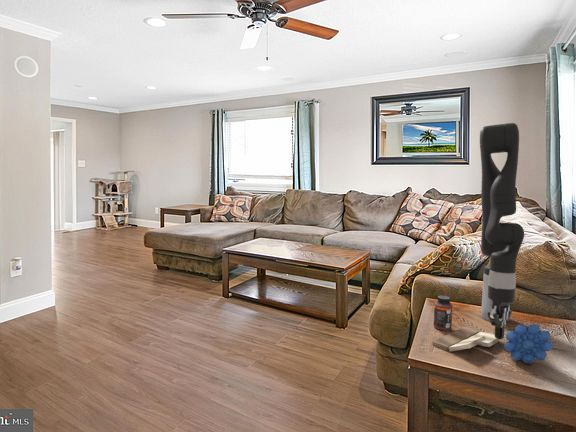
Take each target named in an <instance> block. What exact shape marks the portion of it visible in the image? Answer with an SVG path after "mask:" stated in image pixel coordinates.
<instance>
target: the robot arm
mask: <svg viewBox="0 0 576 432" xmlns="http://www.w3.org/2000/svg"><path fill="white" fill-rule="evenodd" d="M479 150H480V161H481V191H480V192H481V193H480V194H481V195H480V196H481V212H482V213H481V214H482V218H481V219H482V223H481V224H482V225H481V241H480V247H481V253H482V255H484V256H486V257H490V258H489V259H490V260H489V264H487V265H484V268H483V277H482V278H483V279H482V280H483V281H482V292H481V293H482V296H481V298H482V299H481V310H480V311H481V312H480V317H481V318H482V319H484V320H486V321H489V322H490V325H491V326H492V327H494V334H495V338H498V339H502V340H503V339H504V338H505V328H506V325H508V324H509V322H510V319H511V315H512V313H513V309H514V307H512V306H510V305H511V304H510V303H514V302H515V301H516V289H517V287H516V285H517V284H516V283H517V277H516V266H517V264H516V263H517V258H518V255H519V252H520V248H521V246H522V244H523V242H524V239H525V231H524V228H523V226H522V225H521V224H520V223H516V222H501V221H500V220H501V219H502V218H503V217H508V216H513V215H515V214H516V212H517V197H516V196H517V193H516V192H517V191H516V185H517V184H516V183H517V172H518V165H519V164H518V163H519V150H520V130H519V127H518V124H517V123H514V122H511V123H509V122H508V123H501V124H500V123H498V124H492V125H484V126H482V127H481V129H480V131H479ZM500 153H507V156H506V161H505V163H504V165H503V167H502V169H501V171H500V169H499V168H498V167H497V166H496V164H495V162H494V160H493V158H492V154H500Z"/></svg>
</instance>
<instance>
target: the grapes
mask: <svg viewBox="0 0 576 432" xmlns="http://www.w3.org/2000/svg"><path fill="white" fill-rule="evenodd" d="M551 336H552V335H551V333H550V332H549V331H548V330H541V327H540V326H539V324H536V323H535V324H534V323H532V324H529V325H528V327H527V326H526V325H525V324H518V325H516V326H515V328H514V331H509V332H508V331H507V333H506V335H505V339H506V340H507V342H505V344H504V346H503V347H504V349H505V350H506V352H510V358H511V359H512V360H514V361H520V360H522V361H523V363H525V364H527V365H528V364H533V363H534V362H535V359H536V360H537V361H543V360H545V359H546V358H547V357H548V354H547V352H551V351H552V350H553V348H554V344H553V343H552V341H549V339H550V338H551Z"/></svg>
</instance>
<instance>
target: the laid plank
mask: <svg viewBox="0 0 576 432" xmlns="http://www.w3.org/2000/svg"><path fill="white" fill-rule="evenodd" d="M479 332H480V331H479V330H478V329H474V328H472V327H471V328H470V327H468V326H463V327H460V328H458V329H456V330H454V331H452V332H450V333H447V334H446V335H443V336H441V337H439V338H437V339H434V340H433V341H432V346H434V347H436V348H439V349H442V350H445V351H447V352H450V351H449V349H448V348H449V347H451V346H453V345H455V344H456V343H458V342H460V341H462V340H465V339H468V338H470V337H472V336H474V335H476V334H477V333H479Z"/></svg>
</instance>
